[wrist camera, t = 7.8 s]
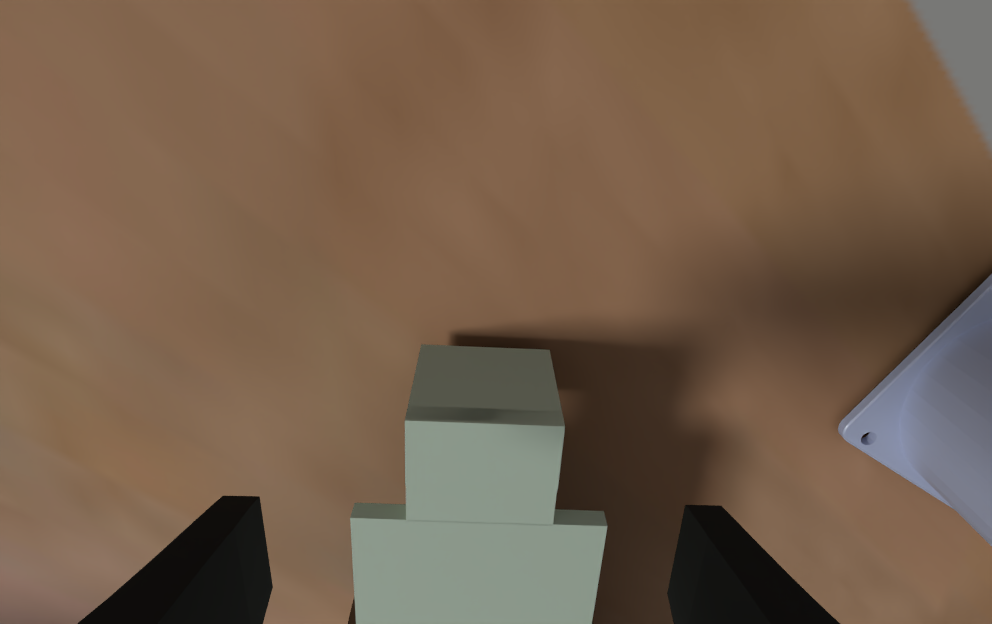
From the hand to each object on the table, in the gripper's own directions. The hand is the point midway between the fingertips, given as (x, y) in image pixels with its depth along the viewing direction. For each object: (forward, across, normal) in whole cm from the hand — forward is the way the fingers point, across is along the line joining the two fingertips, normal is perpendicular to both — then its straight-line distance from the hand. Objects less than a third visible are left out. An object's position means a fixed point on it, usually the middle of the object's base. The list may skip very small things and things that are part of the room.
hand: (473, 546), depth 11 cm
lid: (+9, 0, +9) cm, 13 cm away
